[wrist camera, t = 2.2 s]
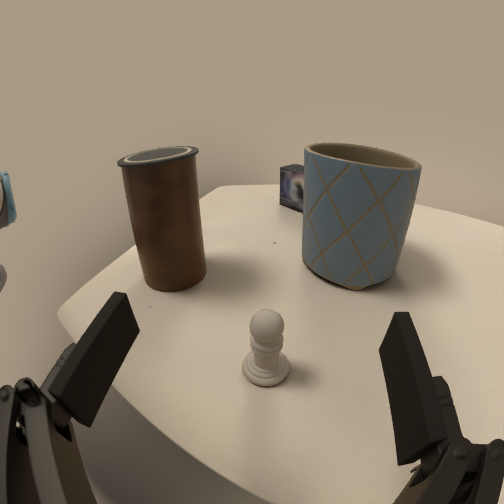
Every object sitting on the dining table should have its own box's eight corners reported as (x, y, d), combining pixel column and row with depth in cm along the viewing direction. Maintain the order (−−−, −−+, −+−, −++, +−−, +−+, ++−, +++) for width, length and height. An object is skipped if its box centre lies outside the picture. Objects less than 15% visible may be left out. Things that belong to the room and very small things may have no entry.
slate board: (107, 172, 30) (106, 169, 30) (128, 155, 41) (128, 152, 40) (198, 159, 32) (198, 156, 32) (198, 146, 42) (198, 143, 42)
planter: (339, 229, 60) (348, 141, 50) (412, 265, 47) (435, 164, 37) (276, 256, 51) (278, 146, 40) (360, 311, 37) (391, 174, 27)
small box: (277, 204, 73) (278, 166, 68) (293, 199, 77) (295, 163, 72) (308, 216, 66) (311, 174, 61) (324, 210, 70) (327, 171, 65)
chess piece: (280, 393, 27) (287, 340, 22) (234, 379, 28) (229, 325, 24) (294, 357, 31) (302, 301, 26) (252, 346, 33) (251, 290, 28)
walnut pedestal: (140, 294, 41) (111, 170, 31) (148, 258, 51) (130, 155, 40) (208, 288, 43) (194, 159, 33) (205, 252, 52) (195, 146, 42)
